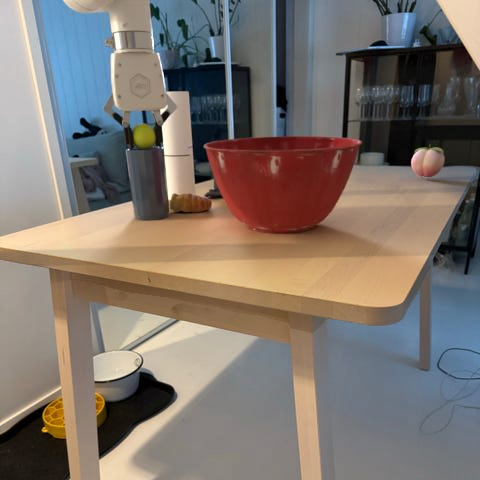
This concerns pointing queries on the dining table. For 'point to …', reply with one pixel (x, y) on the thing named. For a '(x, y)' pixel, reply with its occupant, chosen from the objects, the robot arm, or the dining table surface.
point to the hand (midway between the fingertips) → (144, 146)
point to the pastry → (189, 203)
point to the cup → (148, 183)
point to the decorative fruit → (428, 161)
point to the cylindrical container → (179, 146)
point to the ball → (143, 136)
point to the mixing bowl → (282, 179)
